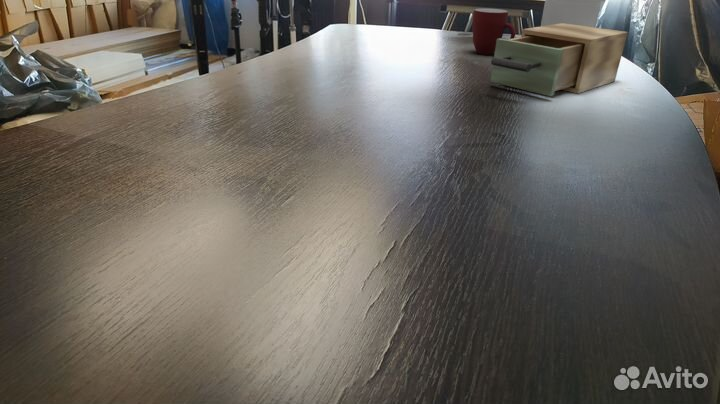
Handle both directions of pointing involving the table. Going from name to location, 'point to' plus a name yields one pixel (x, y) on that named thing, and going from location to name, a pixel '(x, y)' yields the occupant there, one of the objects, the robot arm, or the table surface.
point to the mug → (489, 29)
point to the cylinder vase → (571, 12)
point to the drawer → (537, 63)
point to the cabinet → (588, 51)
